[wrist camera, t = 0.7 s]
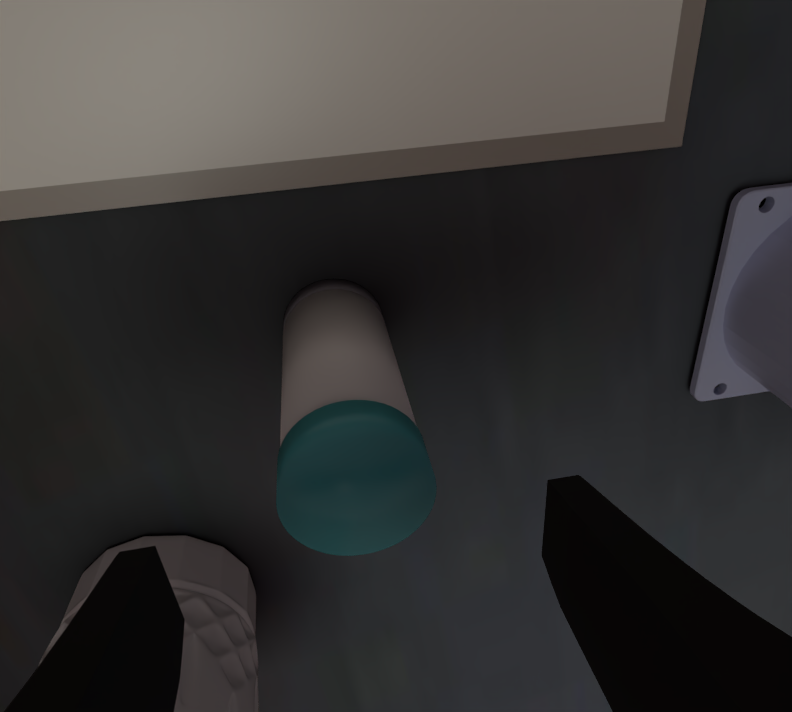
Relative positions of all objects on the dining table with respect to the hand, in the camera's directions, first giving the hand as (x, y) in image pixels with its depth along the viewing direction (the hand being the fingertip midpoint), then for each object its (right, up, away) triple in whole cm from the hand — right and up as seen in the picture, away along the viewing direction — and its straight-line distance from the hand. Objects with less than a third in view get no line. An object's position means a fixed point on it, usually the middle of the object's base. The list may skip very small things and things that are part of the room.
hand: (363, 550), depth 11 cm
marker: (-1, +5, +8) cm, 9 cm away
